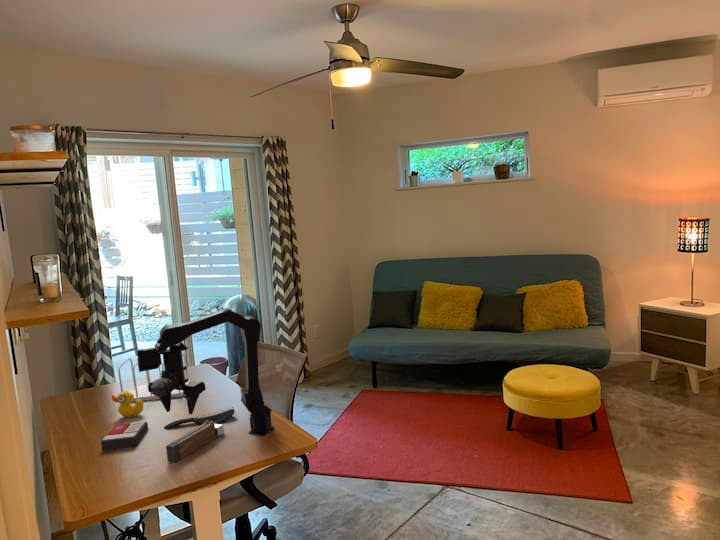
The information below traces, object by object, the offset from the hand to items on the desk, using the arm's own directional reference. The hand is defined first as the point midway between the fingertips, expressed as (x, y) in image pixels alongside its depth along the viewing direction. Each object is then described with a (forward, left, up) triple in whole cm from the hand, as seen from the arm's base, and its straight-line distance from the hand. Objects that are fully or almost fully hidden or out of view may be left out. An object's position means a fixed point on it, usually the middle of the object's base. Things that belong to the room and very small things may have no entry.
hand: (179, 412), depth 168 cm
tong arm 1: (-1, -1, -12) cm, 12 cm away
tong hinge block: (-2, -13, -13) cm, 18 cm away
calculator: (+27, -1, -13) cm, 30 cm away
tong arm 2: (-3, -1, -12) cm, 13 cm away
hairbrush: (+11, -19, -13) cm, 26 cm away
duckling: (+43, -17, -13) cm, 47 cm away
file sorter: (+52, -40, -13) cm, 67 cm away
